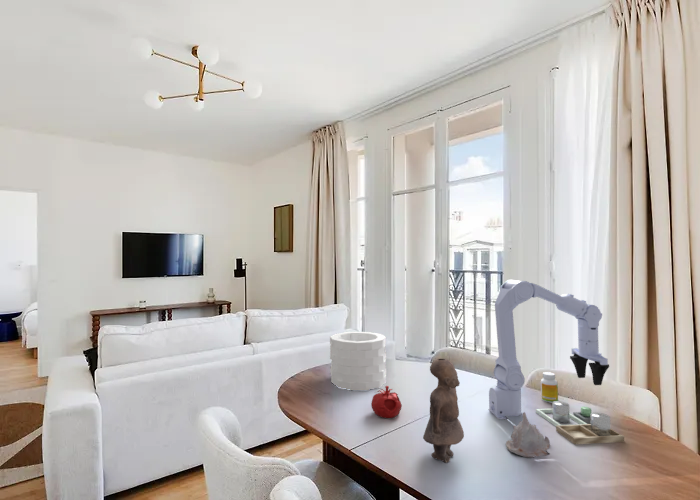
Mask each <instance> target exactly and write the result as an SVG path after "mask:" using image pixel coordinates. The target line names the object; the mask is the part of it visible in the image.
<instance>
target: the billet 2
mask: <svg viewBox="0 0 700 500" xmlns="http://www.w3.org/2000/svg"><path fill="white" fill-rule="evenodd" d="M590 416H591V432H593V433H595V434H596V435H598V436H611V434H610V428H611V416H609V415H608V414H605V413H601V412H592V413H591V414H590Z"/></svg>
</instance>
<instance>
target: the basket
mask: <svg viewBox="0 0 700 500" xmlns="http://www.w3.org/2000/svg"><path fill="white" fill-rule="evenodd" d="M329 345H330V348H329V349H330V352H329V357H330V358H329V359H330V360H331V362H330V371H329V372H330V373H329V374H330V379H331V381H330V382H332V383H334V384H335V385H337V386H338V387H341V388H346V389H350V390H368V391H370V390H369V389H373V390H375V389H374V388H377V389H380V388H381V387H380V386H382V385H383V384H385V383H386V384H387V362H386V361H387V351H386V345H387V337H386V336H385V335H384V334H383V333H377V332H372V331H371V332H370V331H345V332H344V331H343V332H338V333H334V334H332V335H330V336H329ZM386 384H385V385H386ZM383 386H384V385H383ZM383 386H382V387H383ZM379 387H380V388H379Z"/></svg>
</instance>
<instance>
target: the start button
mask: <svg viewBox="0 0 700 500" xmlns="http://www.w3.org/2000/svg"><path fill="white" fill-rule="evenodd" d="M580 412H581V415H583V416H586V417H591V416H590V414H591V413H593V411H592V408H591V407H588V406H580Z"/></svg>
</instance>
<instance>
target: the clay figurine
mask: <svg viewBox="0 0 700 500" xmlns="http://www.w3.org/2000/svg"><path fill="white" fill-rule="evenodd" d="M429 371H430V373H431V375H433V376H434V377H435V378H437V386H436V388H435V389H433V390H432V392H431V393H430V395H429V418H428V421H427V424H426V427H425V430H424V432H423V436H422V439H423V440H424V441H425V442H426V443H428V444H429V445H432V446H433V451H434V452H432V453H431V457H432V458H433V459H435V460H439V461H442V462H444V463H445V464H448V463H449V462H450V461H451V458H452V457H454V452H453V450H452V449H451V447H452V445H457V444H459V443H461V442H462V441H463V439H464V437H465V436H464V435H465V433H464V429H463V426H462V424H461V421H460V420H459V416H460V409H459V405H458V394H457V387H459V386H460V380H459V379H458V378H459V377H458V372H457V370H456V368H455V366H454V363H452V362H451V361H450V360H449V359H446V358H437V359H435V360H434V361H433V362H432V363H431V364H430V366H429Z"/></svg>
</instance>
